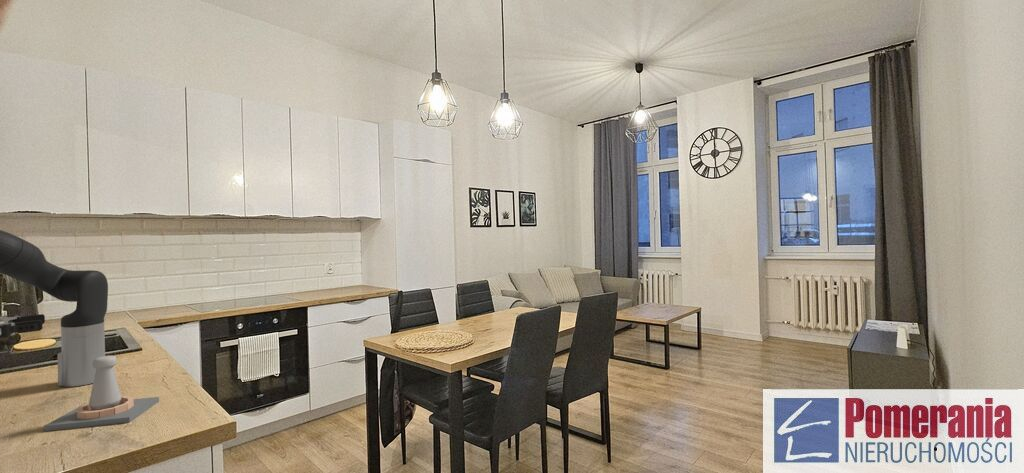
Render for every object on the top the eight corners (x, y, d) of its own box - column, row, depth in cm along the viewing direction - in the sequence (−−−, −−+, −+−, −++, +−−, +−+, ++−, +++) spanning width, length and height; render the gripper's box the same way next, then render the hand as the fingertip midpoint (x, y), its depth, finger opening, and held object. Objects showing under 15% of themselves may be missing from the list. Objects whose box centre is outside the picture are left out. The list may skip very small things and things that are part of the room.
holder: (44, 431, 97) (44, 419, 97) (84, 408, 110) (84, 397, 110) (129, 422, 101) (129, 410, 101) (159, 401, 114) (158, 391, 114)
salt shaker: (101, 416, 102) (100, 361, 102) (82, 414, 103) (81, 359, 103) (128, 406, 108) (126, 354, 108) (109, 404, 109) (108, 353, 109)
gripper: (-87, 323, 82) (40, 309, 93) (-69, 312, 92) (44, 301, 103) (-84, 362, 82) (42, 344, 93) (-66, 347, 92) (46, 332, 103)
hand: (43, 321), depth 98 cm, fingers open, 8 cm apart
